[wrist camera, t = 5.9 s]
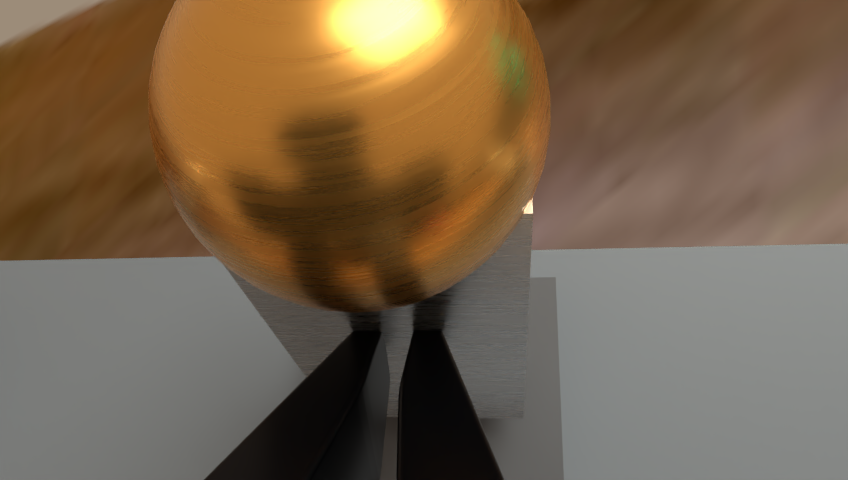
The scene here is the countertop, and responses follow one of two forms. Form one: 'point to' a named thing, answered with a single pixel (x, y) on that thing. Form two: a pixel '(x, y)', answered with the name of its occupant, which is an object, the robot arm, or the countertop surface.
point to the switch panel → (509, 438)
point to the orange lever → (363, 170)
